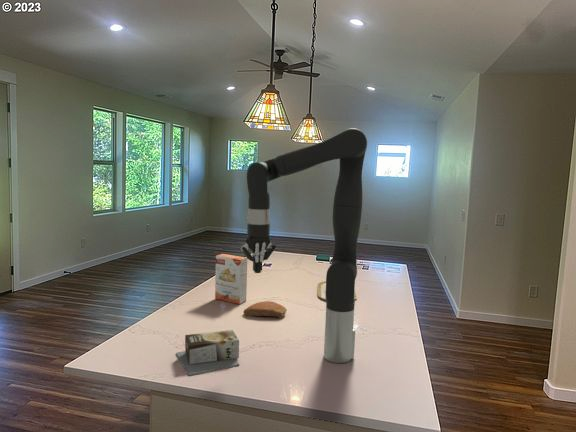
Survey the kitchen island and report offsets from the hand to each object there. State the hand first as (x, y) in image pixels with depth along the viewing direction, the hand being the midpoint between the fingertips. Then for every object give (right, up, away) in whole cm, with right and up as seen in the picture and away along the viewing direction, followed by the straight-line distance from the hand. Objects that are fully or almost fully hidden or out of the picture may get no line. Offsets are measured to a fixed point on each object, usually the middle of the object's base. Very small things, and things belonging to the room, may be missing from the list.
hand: (257, 272), depth 143 cm
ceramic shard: (+1, -23, +36) cm, 43 cm away
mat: (-16, -27, -7) cm, 32 cm away
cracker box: (-16, -20, +52) cm, 59 cm away
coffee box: (-7, -23, -2) cm, 24 cm away
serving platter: (+35, -20, +71) cm, 82 cm away
